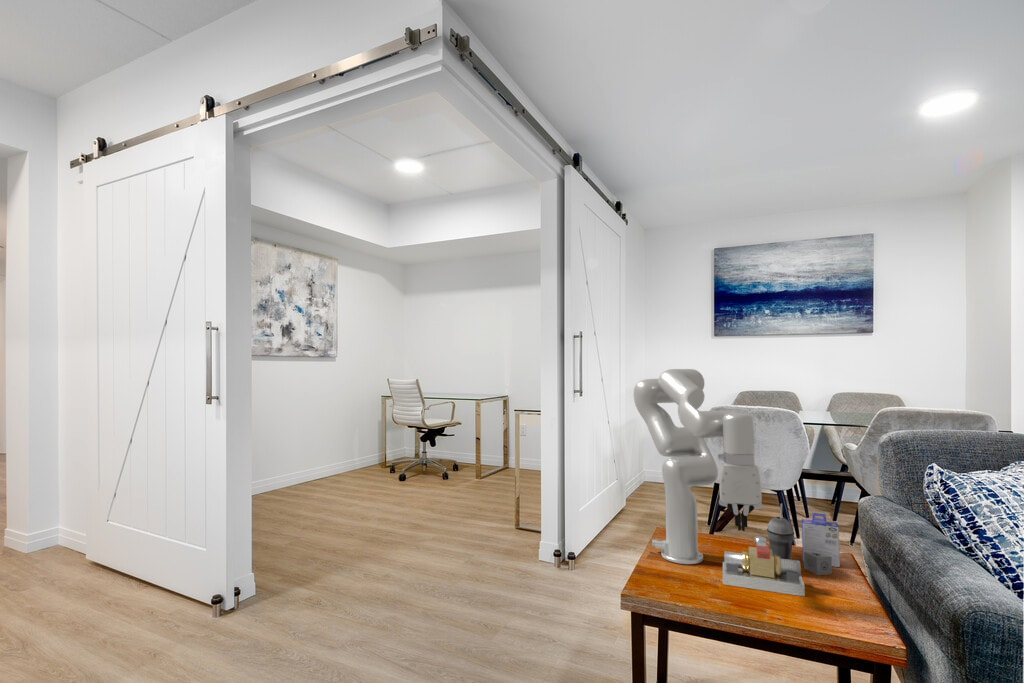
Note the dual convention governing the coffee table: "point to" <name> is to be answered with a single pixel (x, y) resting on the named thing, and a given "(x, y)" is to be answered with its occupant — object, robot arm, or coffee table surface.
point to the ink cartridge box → (821, 537)
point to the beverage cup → (780, 536)
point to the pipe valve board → (763, 582)
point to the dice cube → (817, 562)
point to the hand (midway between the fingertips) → (741, 529)
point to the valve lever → (762, 548)
